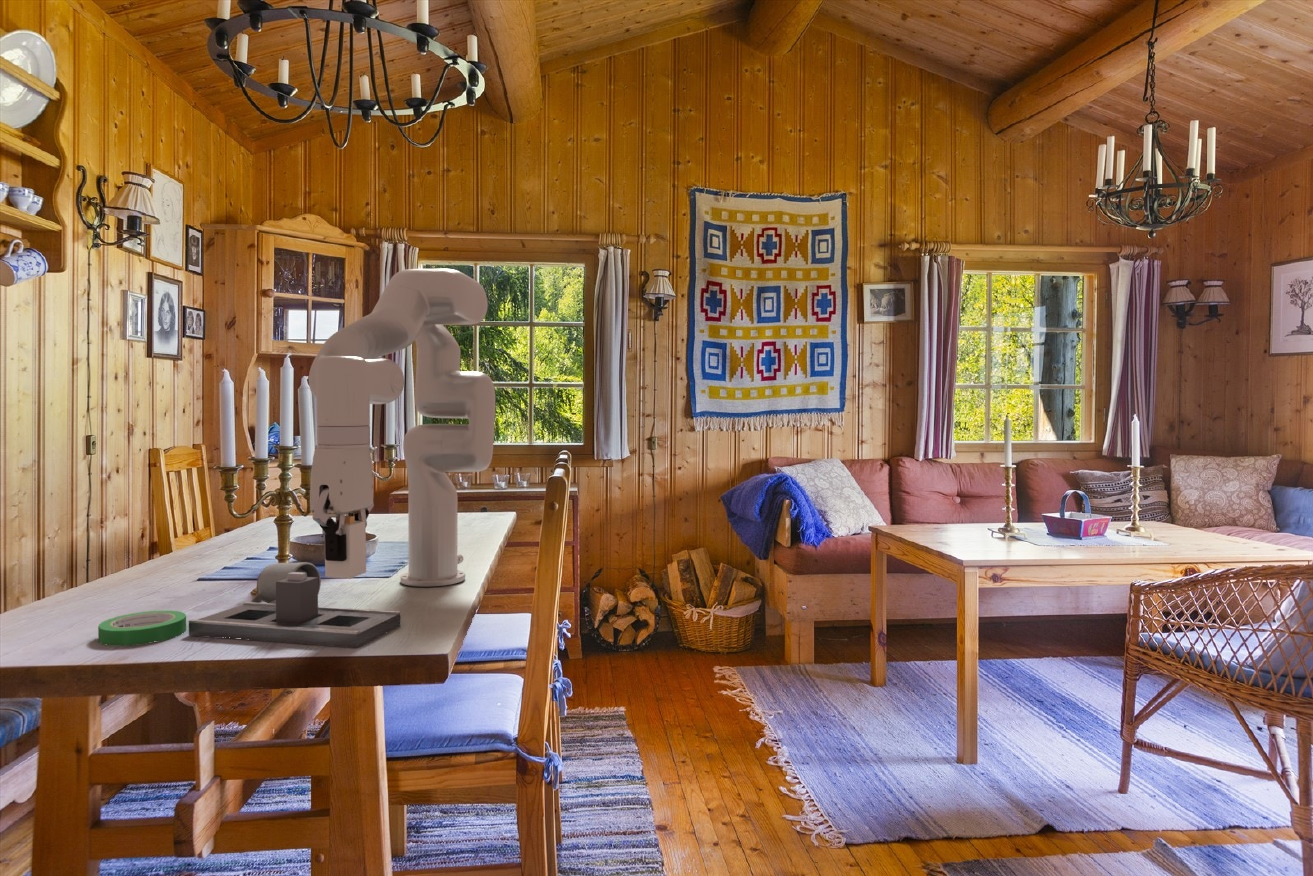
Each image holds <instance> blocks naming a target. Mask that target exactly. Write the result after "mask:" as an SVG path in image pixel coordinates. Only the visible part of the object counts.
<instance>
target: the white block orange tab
mask: <svg viewBox="0 0 1313 876" xmlns="http://www.w3.org/2000/svg"><path fill="white" fill-rule="evenodd" d="M336 522H337V518H335V523H336ZM366 528H367V526H366V522H365V521H355V516H354V515H353V516H346V515H345V520H344V530H343V534H346V557H347V558H346V560H345V561H327V560H326V559H325V558H324V572H325V573H324V574H325V578H333V579H334V578H335V579H353V578H355V577H358V576H360V575H363V574H366V573H367V538H366V537H367V534H366V531H367V530H366Z"/></svg>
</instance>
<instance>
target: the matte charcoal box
mask: <svg viewBox="0 0 1313 876" xmlns="http://www.w3.org/2000/svg"><path fill="white" fill-rule="evenodd" d="M318 606H319V594H318V577H307V573H302V572H291V573H288V578H286V579H283V580H280V581H277V582H276V622H284V623H299V624H302V623H305V622H307V621H310V620H312V619H315V618H317V617H318Z"/></svg>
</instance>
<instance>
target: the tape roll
mask: <svg viewBox="0 0 1313 876" xmlns="http://www.w3.org/2000/svg"><path fill="white" fill-rule="evenodd" d="M97 630H98V633H97V635H98V636H97V637H98V638H97V639H98V640H97V641H98V643H99V642H100V644H101V643H102V644H101V645H104V644H107V645H106V646H111V645H118V647H124V646H125V645H126V646H137V645H136V644H140V645H146V644H145V643H147V644H150V643H149V642H153V643H155V642H154V641H159V642H163V641H166V640H171V639H173V637H174V638H176V637H175V636H177V637H179V636H182V635H183V634H185V633H186V631H187V615H186V613H185V612H183V611H178V610H151V611H141V612H134V613H127V614H123V615H120V616H119V615H118V616H115V617H112V618H108V619H107V620H103V621H102V622H100V623H99V624H98V626H97ZM184 632H185V633H184ZM182 633H183V634H182ZM181 634H182V635H181ZM170 638H171V639H170ZM162 640H163V641H162ZM119 645H121V646H119Z"/></svg>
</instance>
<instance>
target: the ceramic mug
mask: <svg viewBox="0 0 1313 876" xmlns="http://www.w3.org/2000/svg"><path fill="white" fill-rule="evenodd" d="M291 572H302V573H307V577H318V595H319V594H320V591H321V585H322V584H321V583H322V581H321V580H322V579H321V573H320V571H319V569H318V568H317V566H315V564H313V563H311V562H307V561H305V562H303V561H302V562H277V563H273V564H270V565H268V566H265V568H263V570H261V572H260V573H259V575H258V577H257V580H256V593H257V594H256V595H255V596H253V597H252V598H251V600H250V601H249V602H255V603H262V602H263V603H271V604H276V582H277V581H280V580H283V579H286V578H288V573H291Z"/></svg>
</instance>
